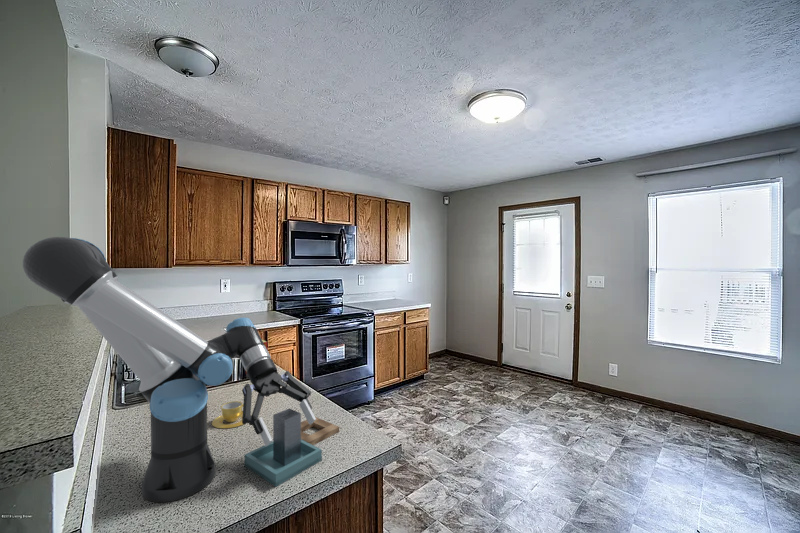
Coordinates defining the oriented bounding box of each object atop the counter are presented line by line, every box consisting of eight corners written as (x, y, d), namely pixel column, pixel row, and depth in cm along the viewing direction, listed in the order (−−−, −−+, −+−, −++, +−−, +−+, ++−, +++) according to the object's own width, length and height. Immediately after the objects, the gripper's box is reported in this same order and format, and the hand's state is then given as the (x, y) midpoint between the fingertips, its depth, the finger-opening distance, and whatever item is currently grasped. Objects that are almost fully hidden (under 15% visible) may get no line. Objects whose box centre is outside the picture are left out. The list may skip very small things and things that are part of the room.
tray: (276, 486, 85) (276, 474, 85) (244, 465, 93) (244, 454, 93) (321, 460, 96) (321, 449, 96) (289, 443, 105) (289, 433, 105)
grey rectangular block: (284, 466, 92) (284, 420, 91) (273, 459, 95) (273, 414, 94) (300, 457, 96) (300, 413, 95) (289, 451, 99) (289, 408, 98)
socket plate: (308, 447, 103) (308, 442, 103) (283, 434, 110) (283, 430, 110) (339, 431, 112) (339, 426, 112) (314, 420, 119) (314, 416, 119)
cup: (217, 433, 111) (217, 416, 111) (208, 419, 120) (208, 403, 120) (256, 422, 119) (256, 406, 118) (245, 410, 128) (245, 395, 128)
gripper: (290, 361, 114) (322, 420, 106) (210, 385, 94) (242, 460, 86) (300, 347, 111) (334, 407, 102) (219, 369, 91) (253, 446, 82)
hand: (292, 432), depth 94 cm, fingers open, 13 cm apart
